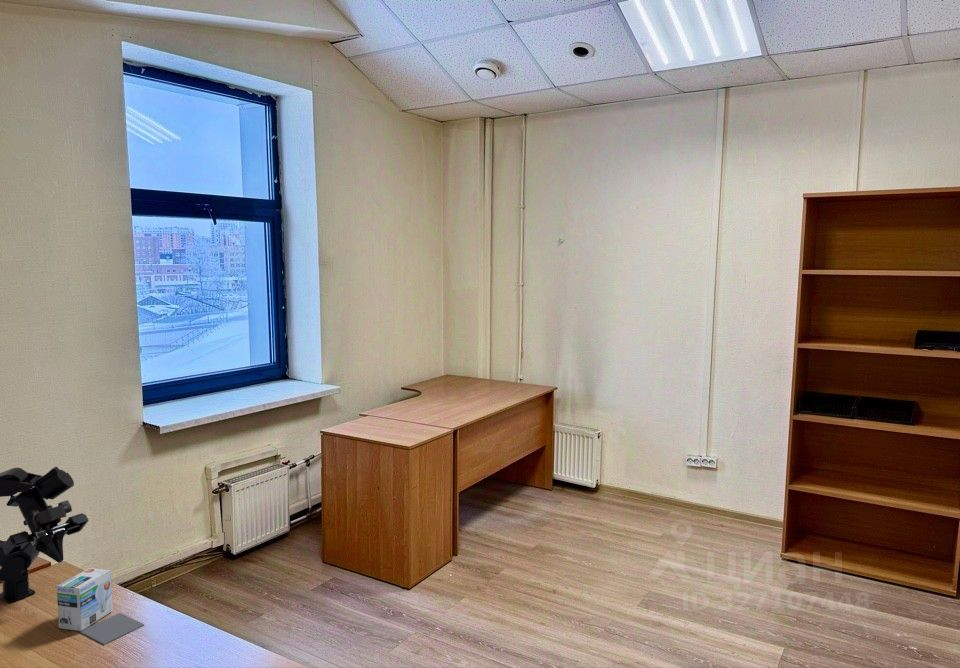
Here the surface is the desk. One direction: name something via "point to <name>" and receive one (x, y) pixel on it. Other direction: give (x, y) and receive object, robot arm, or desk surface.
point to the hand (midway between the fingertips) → (61, 561)
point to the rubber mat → (111, 628)
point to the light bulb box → (84, 599)
